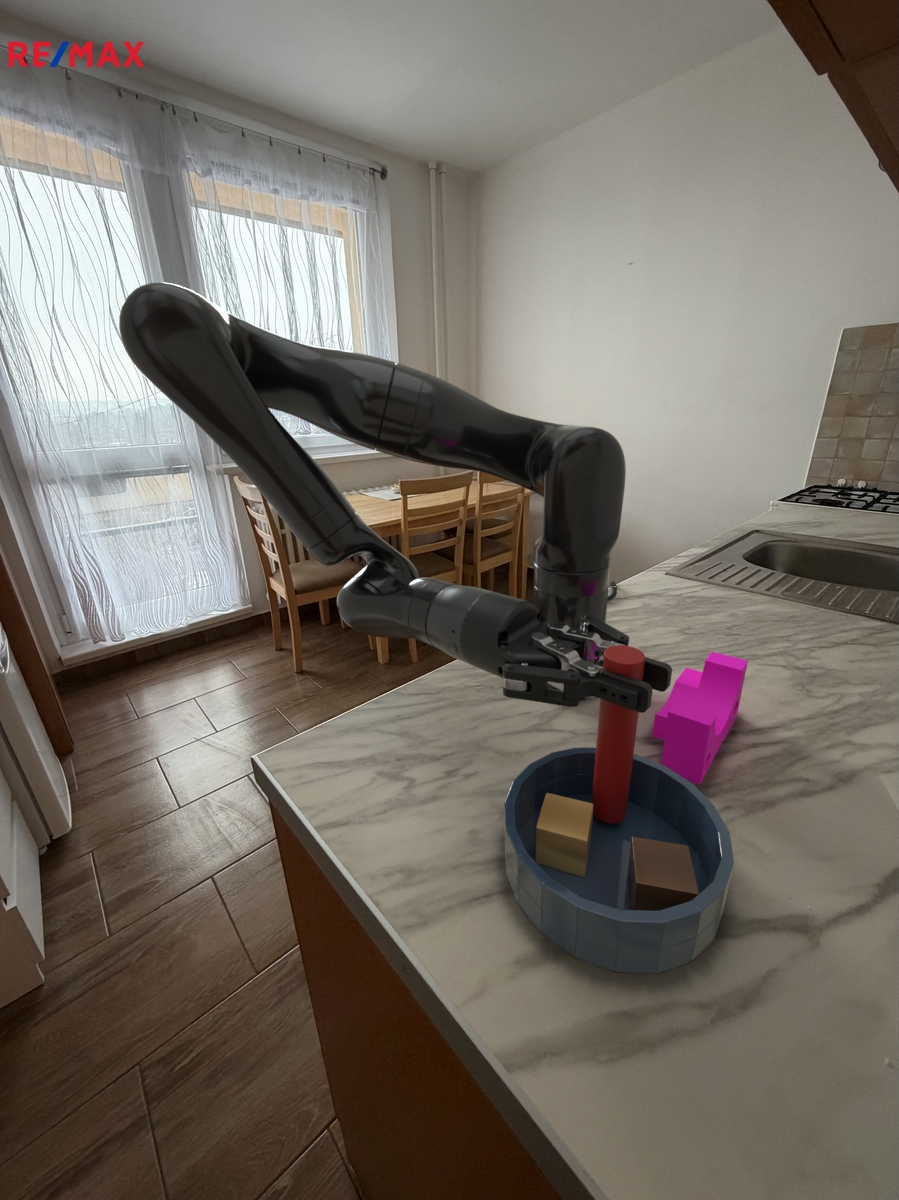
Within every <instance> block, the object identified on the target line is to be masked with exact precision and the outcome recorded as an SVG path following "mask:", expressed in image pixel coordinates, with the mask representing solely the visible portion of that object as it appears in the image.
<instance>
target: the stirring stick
mask: <svg viewBox="0 0 899 1200" xmlns="http://www.w3.org/2000/svg"><path fill="white" fill-rule="evenodd" d="M645 657H646V655H645V654H644V652H643V651H642V650H640V649H639V648H637V647H634V646H629V645H628V646H624V645H616V646H611V647H608V648H607V649H606V650H605V651H604V659H603V670H604V669H608V670H611V671H613V672H616V673H620V674H623V675H626V676H629V677H632V678H634V679H637V680H640V681H642V680H643V672H644V664H645ZM598 709H599V710H598V719H597V732H596V733H597V734H596V744H595V748H596V755H595V767H594V779H593V791H592V804H593V805H594V808H593V814H594V815H595V816H596V817H597V818H598V819H600V820H601V821H603V822H606V823H613V824H614V823H619V822H621V821H623V820H624V819H625V817H626V812H627V804H628V796H629V787H630V779H631V771H632V763H633V754H635V744H636V737H637V730H638V729H637V728H638V720H639V713H640V712H638V711H635V710H631V709H627V708H624V707H621V706H619V705H616V704H615V703H611V702H609V701H606V700H603V699H601V698H599V708H598Z"/></svg>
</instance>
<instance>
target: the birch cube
mask: <svg viewBox="0 0 899 1200" xmlns="http://www.w3.org/2000/svg"><path fill="white" fill-rule="evenodd" d="M593 808H594V805H593V804H592V803H588V802H584V801H580V800H575V799H571V798H567V797H563V796H559V795H555V794H551V793H546V795H545V799H544V802H543V806H542V809H541V812H540V816H539V819H538V823H537V826H536V863H537V864H541V865H544V866H548V867H551V868H554V869H558V870H561V871H564V872H568V873H571V874H574V875H578V876H581V877H585V874H586V868H587V862H588V856H589V850H590V843H591V835H592V822H593Z"/></svg>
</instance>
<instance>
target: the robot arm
mask: <svg viewBox="0 0 899 1200" xmlns="http://www.w3.org/2000/svg"><path fill="white" fill-rule="evenodd" d="M118 318H119V321H118V324H119V325H118V330H119V334H120V340H121V342H122V345H123V348H124V350H125V352H126V354H127V356H128V357H129V359H130V361H131V363H132V364H133V365H134V366H135V368H136V369H137V370H138V371H139V372H140V373H141V374H142V375H143V376H144V377H145V378H146V379H147V380H148V381H149V382H150V383H151V384H153V385H154V387H156V388H157V389H158V390H159V391H160V392H161V393H162V394H163V395H164V396H165V397H166V398H168V399H169V400H170V401H171V402H172V403H173V404H174V405H175V406H176V407H178V409H180V410H181V411H182V412H183V413H184V414H185V415H186V416H187V417H188V418H190V419H191V421H192V422H194V423H195V424H196V425H197V426H198V427H199V428H200V429H201V430H202V431H203V432H204V433H205V434H206V435H207V436H208V437H209V438H210V439H211V440H212V441H213V442H214V443H215V444H216V445H217V446H218V447H219V448H220V449H221V450H222V451H223V452H224V453H225V455H226V456H228V458H229V459H230V460H231V461H232V462H233V463H234V464H235V465H236V467H238V468H239V469H240V471H241V472H242V473H243V474H244V475H245V476H246V477H247V479H248V480H249V481H250V482H251V483H252V485H254V487H255V488H256V489H257V490H258V491H259V493H260V494H261V495H262V496H263V497H264V499H265V500H266V501H267V502H268V503H269V505H270V506H271V507H272V508H273V510H274V511H275V512H276V513H277V514H278V516H279V517H280V518H281V519H282V521H283V522H284V523H285V525H286V526H287V527H288V529H289V530H290V531H291V532H292V533H293V535H294V536H295V537H296V538H297V540H298V541H299V542H300V543H301V544H302V546H303V547H304V548H305V549H306V550H307V552H308V553H309V554H310V555H311V557H312V558H313V559H314V560H315V561H316V562H317V563H318V564H320V565H321V566H322V567H333V566H336V565H338V564H340V563H342V562H344V561H346V560H348V559H350V558H352V557H354V556H358V557H360V558H362V559H363V560H364V561H365V562H366V563H367V564H366V565H365V566H364V567H363V568H361V570H359V571H358V572H357V573H356V574H355V575H354V576H353V577H352V578H351V579H349V580H348V581H347V582H346V583H345V584H344V585H343V586H342V587H341V589H340V590H339V592H338V593H337V597H336V609H337V611H338V614H339V616H340V618H341V620H343V622H344V623H345V624H346V625H347V626H349V628H351V629H352V630H354V631H356V632H358V633H360V634H363V635H366V636H369V637H373V638H383V639H384V638H385V639H386V638H387V639H407V640H409V639H413V640H414V639H415V640H417V641H419V642H422V643H424V644H426V645H429V646H431V647H434V648H436V649H438V650H441V652H443V653H445V654H447V655H448V656H450V657H452V658H454V659H456V660H458V661H461V662H463V663H466V664H468V665H470V666H473V667H475V668H478V669H480V670H482V671H485V672H487V673H489V674H492V675H494V676H496V677H499V678H501V679H502V695H503V696H504V697H506V698H511V699H517V700H522V701H530V702H537V703H544V704H549V705H557V706H564V707H570V708H574V707H577V706H579V705H580V700H582V699H587V700H597V699H598V698H599V699H600V698H601V699H603V700H606V701H609V702H611V703H615V704H616V705H619V706H621V707H624V708H627V709H631V710H635V711H638V712H639V713H641V714H644V713H646V712H647V711H648V710H649V709H650V707H651V706H652V697H653V690H655V691H658V692H661V693H663V692H665V691H667V690H668V689H669V688H670V686H671V683H672V682H671V681H672V673H673V668H672V666H671V665H670V664H669V663H667V662H664V661H660V660H657V659H653V658H650V657H647V656H645V664H644V672H643V680H642V681H640V680H637V679H634V678H632V677H629V676H626V675H623V674H620V673H616V672H613V671H611V670H608V669H604V670H603V659H604V651H605V650H606V649H607V648H608V647H611V646H616V645H624V646H629V643H630V636H629V635H627V634H626V633H624V632H622V631H620V630H618V629H617V628H615V627H613V626H612V625H609V624H608V623H607V613H608V612H607V611H608V602H609V601H612V600H613V599H614V598H616V596H617V593H618V588H617V584H616V582H615V581H614V580H611V582H610V570H611V569H610V567H611V566H610V565H611V558H612V557H611V556H612V552H613V549H614V548H615V546H616V543H617V541H618V539H619V535H620V528H621V522H622V513H623V507H624V506H623V504H624V496H625V489H626V488H625V487H626V475H627V473H626V471H627V470H626V469H627V468H626V458H625V453H624V450H623V448H622V444H621V443H620V442H619V440H618V439H617V437H616V436H614V435H613V434H612V433H611V432H609V431H608V430H605V429H603V428H600V427H595V426H589V425H588V426H587V425H577V424H576V425H575V424H563V423H562V424H561V423H555V422H554V423H553V422H549V421H545V420H539V419H535V418H531V417H527V416H523V415H519V414H515V413H511V412H508V411H505V410H503V409H500V408H498V407H496V406H493V404H490V403H488V402H486V401H485V400H483V399H481V398H479V397H478V396H476V395H474V394H472V393H470V392H469V391H467V390H466V389H463V388H462V387H459V386H457V385H455V384H453V383H451V382H449V381H447V380H445V379H442V378H441V377H437V376H435V375H432V374H430V373H428V372H424V371H422V370H419V369H415V368H413V367H410V366H407V365H404V364H401V363H398V362H395V361H392V360H389V359H384V358H381V357H377V356H373V355H370V354H365V353H360V352H355V351H349V350H342V349H337V348H336V349H335V348H328V347H322V346H315V345H310V344H306V343H301V342H299V341H295V340H292V339H289V338H286V337H284V336H281V335H278V334H276V333H274V332H272V331H270V330H267V329H264V328H262V327H259V326H257V325H255V324H253V323H251V322H248V321H246V320H244V319H242V318H240V317H238V316H236V315H233V314H232V313H230V312H228V311H226V310H225V309H222V308H221V307H220V306H218V305H217V304H215V303H213V302H212V301H210V300H208V299H207V298H205V297H204V296H202V295H201V294H199V293H197V292H195V291H194V290H192V289H189V288H186V287H183V286H181V285H178V284H174V283H169V282H150V283H146V284H142V285H140V286H138V287H137V288H135V289H133V290H132V291H131V293H129V295H127V297H126V298H125V300H124V302H123V304H122V306H121V309H120V313H119V317H118ZM271 410H274V411H278V412H281V413H285V414H288V415H290V416H294V417H296V418H298V419H301V420H303V421H305V422H307V423H309V424H310V425H312V426H315V427H317V428H319V429H321V430H323V431H325V432H327V433H329V434H331V435H334V436H336V437H338V438H340V439H343V440H346V441H348V442H350V443H353V444H355V445H358V446H360V447H364V448H366V449H369V450H371V451H376V452H379V453H383V454H386V455H389V456H392V457H395V458H399V459H403V460H407V461H410V462H414V463H419V464H423V465H424V464H425V465H430V466H435V467H441V468H450V469H460V470H469V471H475V472H481V473H485V474H488V475H491V476H495V477H498V478H500V479H502V480H505V481H507V482H510V483H513V484H515V485H517V486H519V487H523V488H525V489H526V490H529V491H531V492H534V493H535V494H537V495H539V496H541V498H543V518H542V531H541V534H540V536H539V537H538V538H536V540H535V542H534V547H533V602H532V601H529V600H525V599H521V598H518V597H515V596H511V595H507V594H504V593H500V592H496V591H492V590H489V589H485V588H481V587H476V586H471V585H463V584H462V585H461V584H457V583H455V582H450V581H447V580H443V579H439V578H435V577H431V576H430V577H429V576H422V577H421V576H420V573H419V571H418V569H417V568H416V566H415V564H414V563H413V562H412V561H411V560H410V559H408V558H407V557H406V556H405V555H404V554H402V552H400V551H398V550H397V549H396V548H394V547H393V546H392V545H391V544H389V543H388V542H387V541H385V539H383V538H382V537H381V536H380V535H379V534H378V533H376V532H375V530H373V529H372V528H371V527H370V526H369V525H368V524H367V523H366V522H365V521H363V519H362V518H361V517H360V515H359V513H357V511H356V510H355V508H354V507H353V505H352V504H351V503H350V501H349V500H348V498H346V496H345V494H343V493H342V491H341V490H340V488H339V487H338V486H337V484H336V483H335V482H334V481H333V479H332V478H331V477H330V475H329V474H328V473H327V472H326V471H325V470H324V469H323V468H322V467H321V465H320V464H319V463H318V462H317V461H316V460H315V459H314V458H313V457H312V456H311V455H310V454H309V453H308V452H307V451H306V450H305V448H304V447H302V445H301V444H300V443H299V442H298V441H297V440H296V439H295V438H294V436H292V435H291V433H289V431H288V430H287V429H286V428H285V427H284V426H283V425H282V424H281V422H280V421H279V420H278V418H277V417H276V416H275V415H274V413H272V411H271ZM609 582H610V583H609ZM609 586H610V587H611V591H612V592H611V594H609ZM614 586H616V587H614Z"/></svg>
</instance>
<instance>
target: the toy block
mask: <svg viewBox="0 0 899 1200" xmlns="http://www.w3.org/2000/svg"><path fill="white" fill-rule="evenodd" d="M748 662H749V660H747V659H743V658H739V657H735V656H731V655H727V654H723V653H720V652H715V651H711V652H710V653H709V655H708V656H707V657H706V659H705V661H704V665H703V669H702V671H700V670H697V669H693V668H689V667H685V668H684V670H683V671H682V672H681V673H680V675H679V676H678V677H677V679H676V680H675V681H674V684H673V685H672V686H673V687H672V689H671V692H670V694H669V696H668V698H667V700H666V701H665V704H664V705H663V707H662V708H661V709H660V710H659V711H658V712H656V713H655V714H654V719H653V727H652V728H653V729H652V737H653V738H656V739H659V740H661V741H663V747H662V754H661V762H660V764H662V765H664V766H666V767H668V768H669V769H671V770H672V771H674V772H675V773H677V774H678V775H680V776H682V777H683V778H685V779H686V780H688V781H689V782H691V783H694V784H696V785H700V786H701V784H702V782H703V781H704V778H705V776H706V774H707V772H708V771H709V769H710V766H711V765H712V763H713V760H714V759H715V757H716V755H717V753H718V751H719V749H720V747H721V745H722V743H723V742H724V741H726V738H727V736H728V734H729V733H730V731H731V729H732V727H733V725H734V722H735V721H736V718H737V717H738V712H739V709H740V703H741V702H740V701H741V698H742V692H743V688H744V683H745V678H746V673H747V668H748Z"/></svg>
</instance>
